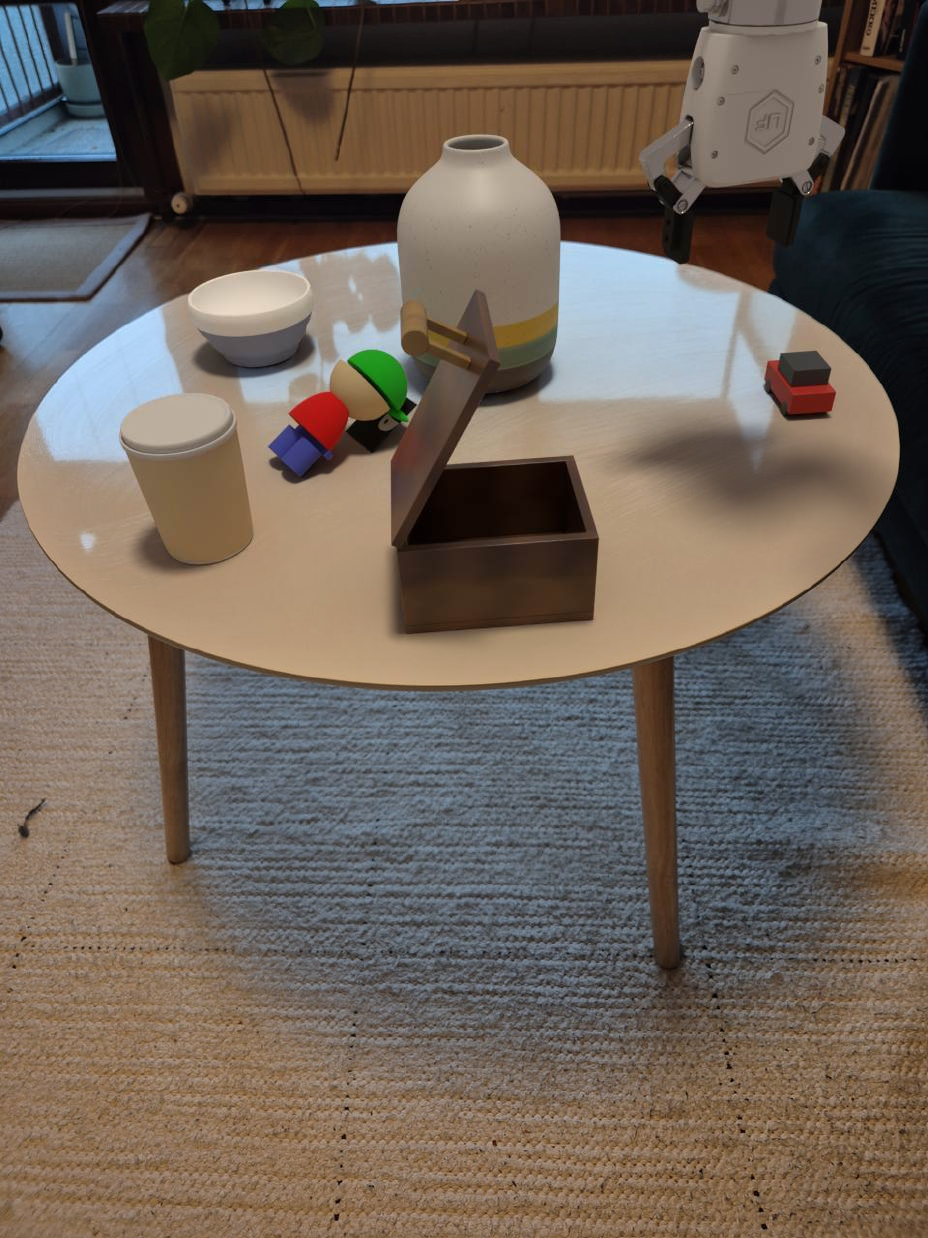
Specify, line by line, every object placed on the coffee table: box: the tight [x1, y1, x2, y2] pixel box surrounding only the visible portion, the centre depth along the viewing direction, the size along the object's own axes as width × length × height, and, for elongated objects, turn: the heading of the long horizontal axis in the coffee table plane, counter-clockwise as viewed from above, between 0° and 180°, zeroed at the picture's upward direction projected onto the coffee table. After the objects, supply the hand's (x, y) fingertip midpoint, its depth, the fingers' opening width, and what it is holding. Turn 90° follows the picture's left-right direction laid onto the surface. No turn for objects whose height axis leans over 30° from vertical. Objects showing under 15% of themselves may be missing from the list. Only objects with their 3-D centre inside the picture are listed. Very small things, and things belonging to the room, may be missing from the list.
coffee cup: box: [118, 392, 254, 565], centre depth 75 cm, size 9×9×12 cm
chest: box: [396, 454, 600, 634], centre depth 71 cm, size 15×12×8 cm
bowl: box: [187, 269, 315, 368], centre depth 106 cm, size 14×14×8 cm
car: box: [763, 350, 837, 416], centre depth 92 cm, size 8×5×5 cm, turn 4°
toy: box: [267, 349, 418, 478], centre depth 88 cm, size 8×8×15 cm
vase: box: [396, 133, 562, 395], centre depth 94 cm, size 17×17×24 cm
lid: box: [390, 289, 501, 549], centre depth 62 cm, size 15×12×6 cm
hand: (727, 250), depth 74 cm, fingers open, 9 cm apart
